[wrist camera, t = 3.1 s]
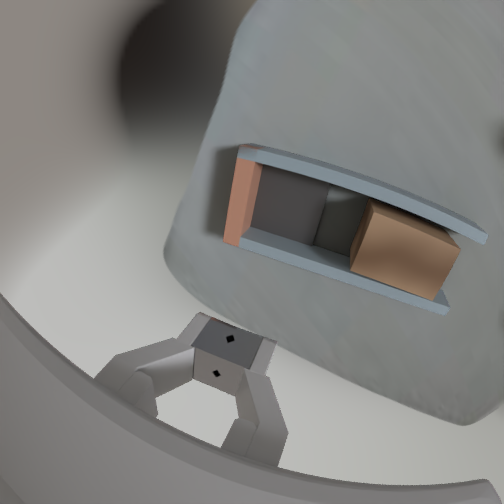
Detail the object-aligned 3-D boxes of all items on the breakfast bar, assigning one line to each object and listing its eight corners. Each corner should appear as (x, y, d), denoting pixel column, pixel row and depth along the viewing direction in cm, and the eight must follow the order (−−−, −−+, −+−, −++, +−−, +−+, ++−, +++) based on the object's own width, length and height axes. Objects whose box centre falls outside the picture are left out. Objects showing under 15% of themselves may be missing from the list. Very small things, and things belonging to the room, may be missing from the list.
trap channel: (251, 143, 23) (239, 145, 20) (475, 223, 19) (488, 235, 16) (235, 229, 27) (222, 241, 24) (438, 298, 23) (445, 316, 20)
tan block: (368, 197, 22) (374, 212, 18) (444, 229, 20) (460, 249, 16) (350, 247, 24) (350, 270, 20) (422, 274, 23) (432, 300, 19)
